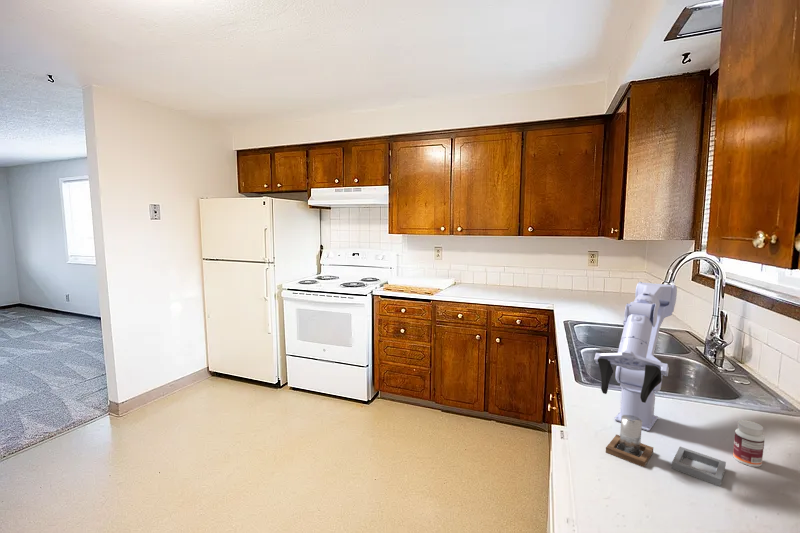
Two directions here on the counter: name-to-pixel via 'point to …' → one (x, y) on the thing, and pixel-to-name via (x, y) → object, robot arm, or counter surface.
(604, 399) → the counter surface
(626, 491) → the counter surface
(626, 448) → the grey thick round cylinder
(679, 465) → the frame
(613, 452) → the socket frame
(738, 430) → the pill bottle
